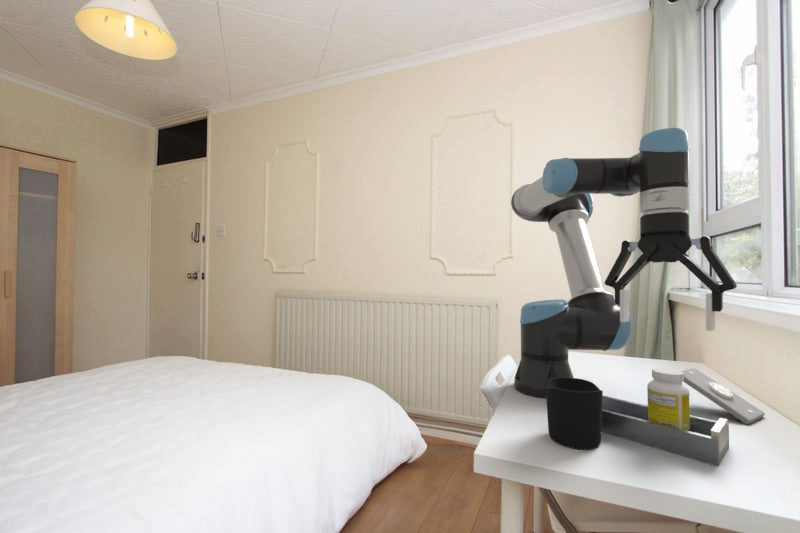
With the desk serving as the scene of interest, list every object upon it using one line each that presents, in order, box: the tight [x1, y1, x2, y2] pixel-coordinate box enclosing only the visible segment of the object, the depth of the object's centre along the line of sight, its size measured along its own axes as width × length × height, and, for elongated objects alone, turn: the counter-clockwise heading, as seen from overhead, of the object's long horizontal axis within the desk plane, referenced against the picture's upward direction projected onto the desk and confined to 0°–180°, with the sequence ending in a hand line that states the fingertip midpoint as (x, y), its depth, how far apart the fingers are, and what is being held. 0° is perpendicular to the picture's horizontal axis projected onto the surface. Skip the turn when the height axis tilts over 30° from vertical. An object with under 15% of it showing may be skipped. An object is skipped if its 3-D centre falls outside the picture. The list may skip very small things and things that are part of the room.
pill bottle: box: [646, 367, 691, 431], centre depth 67 cm, size 6×6×11 cm
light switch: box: [680, 367, 766, 425], centre depth 83 cm, size 8×6×14 cm
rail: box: [601, 395, 730, 467], centre depth 69 cm, size 21×10×5 cm, turn 41°
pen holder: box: [545, 377, 604, 450], centre depth 68 cm, size 9×9×10 cm
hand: (664, 325), depth 70 cm, fingers open, 13 cm apart
